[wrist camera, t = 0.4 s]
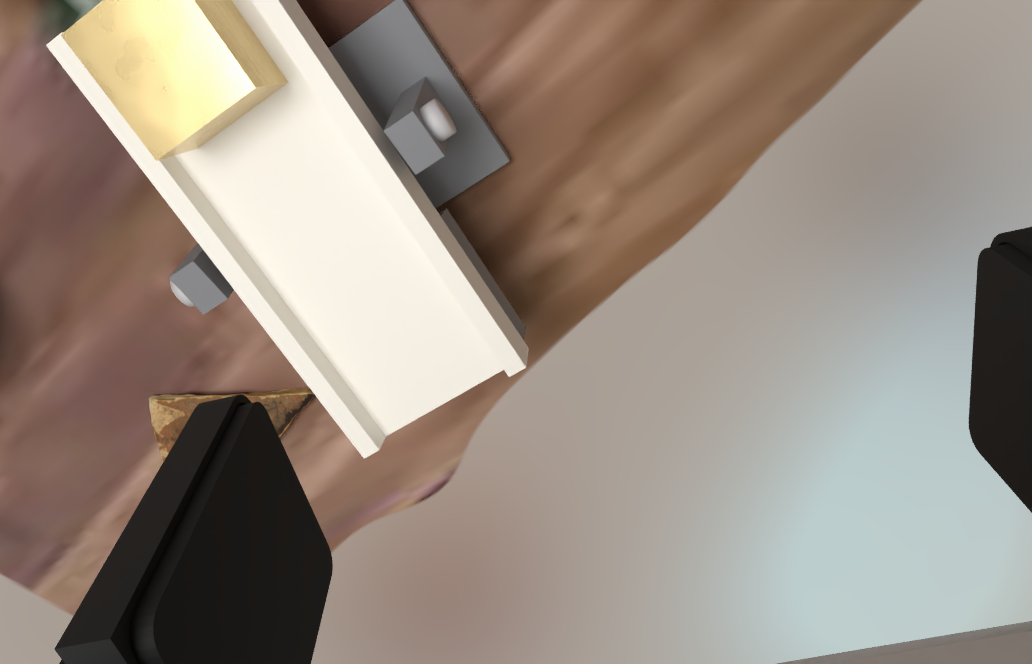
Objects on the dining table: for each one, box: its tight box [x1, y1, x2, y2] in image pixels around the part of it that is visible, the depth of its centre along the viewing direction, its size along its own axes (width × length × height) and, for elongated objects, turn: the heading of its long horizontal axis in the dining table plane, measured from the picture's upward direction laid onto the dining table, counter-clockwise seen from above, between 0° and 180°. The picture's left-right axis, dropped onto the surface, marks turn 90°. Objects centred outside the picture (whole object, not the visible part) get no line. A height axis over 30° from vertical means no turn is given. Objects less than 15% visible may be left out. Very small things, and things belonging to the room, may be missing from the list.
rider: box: [61, 0, 289, 161], centre depth 35 cm, size 6×6×4 cm
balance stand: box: [169, 0, 510, 315], centre depth 41 cm, size 10×17×8 cm, turn 123°
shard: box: [149, 387, 315, 462], centre depth 53 cm, size 11×8×2 cm
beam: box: [46, 0, 529, 458], centre depth 40 cm, size 24×10×6 cm, turn 33°
